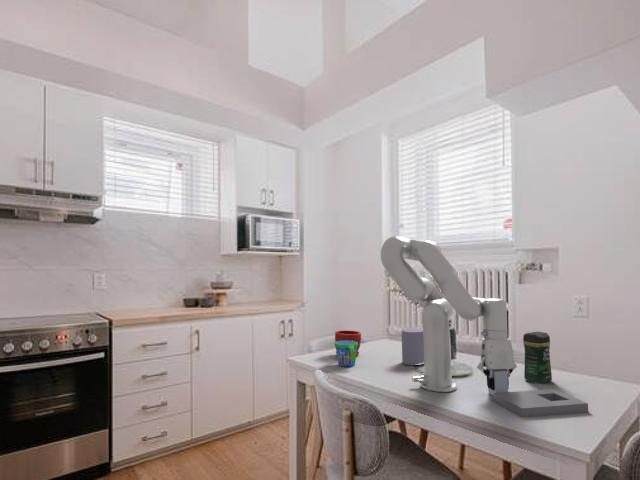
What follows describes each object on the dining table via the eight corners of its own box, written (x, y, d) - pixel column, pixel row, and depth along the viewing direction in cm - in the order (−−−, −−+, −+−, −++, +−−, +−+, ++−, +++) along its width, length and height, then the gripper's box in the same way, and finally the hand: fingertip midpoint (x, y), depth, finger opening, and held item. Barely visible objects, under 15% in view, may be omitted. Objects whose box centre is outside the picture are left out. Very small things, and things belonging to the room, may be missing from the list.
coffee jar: (541, 385, 141) (539, 334, 143) (521, 380, 148) (518, 331, 149) (556, 381, 146) (553, 332, 148) (535, 376, 153) (533, 329, 154)
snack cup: (331, 361, 181) (330, 340, 181) (352, 360, 183) (352, 338, 184) (339, 370, 165) (339, 346, 166) (363, 368, 168) (362, 345, 168)
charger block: (496, 397, 129) (495, 370, 129) (488, 393, 133) (487, 366, 134) (508, 396, 129) (507, 369, 130) (500, 392, 134) (499, 366, 135)
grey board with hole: (522, 417, 112) (521, 408, 112) (493, 400, 126) (493, 393, 126) (588, 411, 115) (587, 403, 116) (553, 396, 129) (552, 389, 129)
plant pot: (353, 360, 184) (353, 334, 185) (330, 356, 191) (330, 332, 192) (365, 354, 195) (365, 330, 195) (343, 352, 202) (343, 328, 203)
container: (429, 365, 172) (428, 331, 173) (407, 366, 170) (406, 332, 171) (419, 360, 182) (418, 328, 183) (399, 361, 180) (398, 329, 181)
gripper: (479, 337, 128) (481, 393, 127) (524, 335, 131) (527, 390, 129) (467, 333, 135) (469, 386, 134) (510, 331, 138) (513, 383, 137)
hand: (498, 387), depth 132 cm, fingers closed on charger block, 4 cm apart
